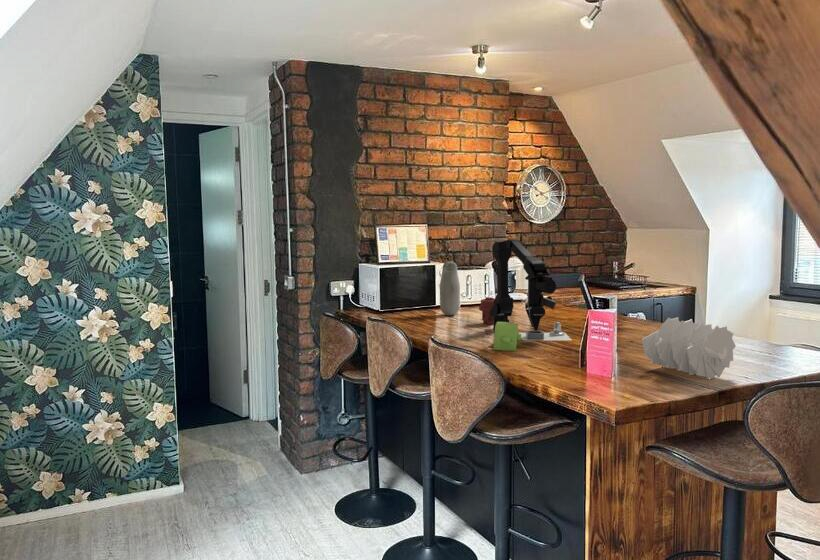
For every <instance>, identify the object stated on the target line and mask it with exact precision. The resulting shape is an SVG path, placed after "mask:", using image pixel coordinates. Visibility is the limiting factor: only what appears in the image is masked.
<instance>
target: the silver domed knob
mask: <svg viewBox="0 0 820 560" xmlns="http://www.w3.org/2000/svg"><path fill="white" fill-rule="evenodd" d="M549 333H550V335H553V336H564V335H565V333H566V332H564V331H562V324H561V322H560V321H555V322H554V324H553V330H552V331H549Z"/></svg>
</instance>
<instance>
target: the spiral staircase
mask: <svg viewBox="0 0 820 560" xmlns="http://www.w3.org/2000/svg"><path fill="white" fill-rule="evenodd" d="M712 325H713V324H711V323H710V324H704V323H703V322H700V323H699V324H697V323H695V322H693V319H692V318H691V319H689V320H685V321H684V320H680V319H679V317H674V318H671V317H668V318H666V320H665V321H664V322H663V323H662V324H660V327H659V330H656V331H654V332H652V333H651V334H649V335H647V336H645V337H643V338H642V339H641V343H642V346H643V351H644V353H643V354H644V355H645V356H646V358H648V360H649V361H650V363H651V365H656V366H657V365H658V366H661V368H662V367H663V368H665V367H666V369H675V370H677V372H680V371H681V372H684V373H688V374H689V376H690V375H692V376H694V375H696V376H699V377H705V378H706V380H707V379H709V378H711V379H713V378H714V377H716V376H717V377H718V378H720V377H721V376H722V374H723V372H724V370H725V368H727V369H730V364H731V362H733V361H734V349H735V348H736V347H737V346H736V344H735V342H734V339H733V337H734V332H732V331H731V330H728V326H727V325H724V326H720V327H719V325H716V326H715V327H714V328H713V327H712ZM709 380H710V379H709Z"/></svg>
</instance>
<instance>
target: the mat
mask: <svg viewBox="0 0 820 560" xmlns="http://www.w3.org/2000/svg"><path fill="white" fill-rule="evenodd" d="M543 333H544V340H543V341H554V342H555V341H556V342H557V341H560V342H561V341H570V342H571V341H573V340H572V338H570V336H569V335H568V334H567V333H566V332H565V335H564V336H553V335H550V332H543ZM518 334H521V340H522V341H529V340H528V339H527V338H526V332H518Z"/></svg>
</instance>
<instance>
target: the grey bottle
mask: <svg viewBox="0 0 820 560" xmlns="http://www.w3.org/2000/svg"><path fill="white" fill-rule="evenodd" d="M440 277H441V278H440V281H439V307H440V308H439V309H440V310H441V313H442V314H443V315H445V316H449V317H451V316H454V315H457V314H458V312H459V310H460V306H461V305H460V303H461V299H460V297H461V283H460V278H459V272H458V265H457V264H456V262H454V261H450V260H448V261H445V262H444V263H443V265H442V271H441V275H440Z"/></svg>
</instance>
